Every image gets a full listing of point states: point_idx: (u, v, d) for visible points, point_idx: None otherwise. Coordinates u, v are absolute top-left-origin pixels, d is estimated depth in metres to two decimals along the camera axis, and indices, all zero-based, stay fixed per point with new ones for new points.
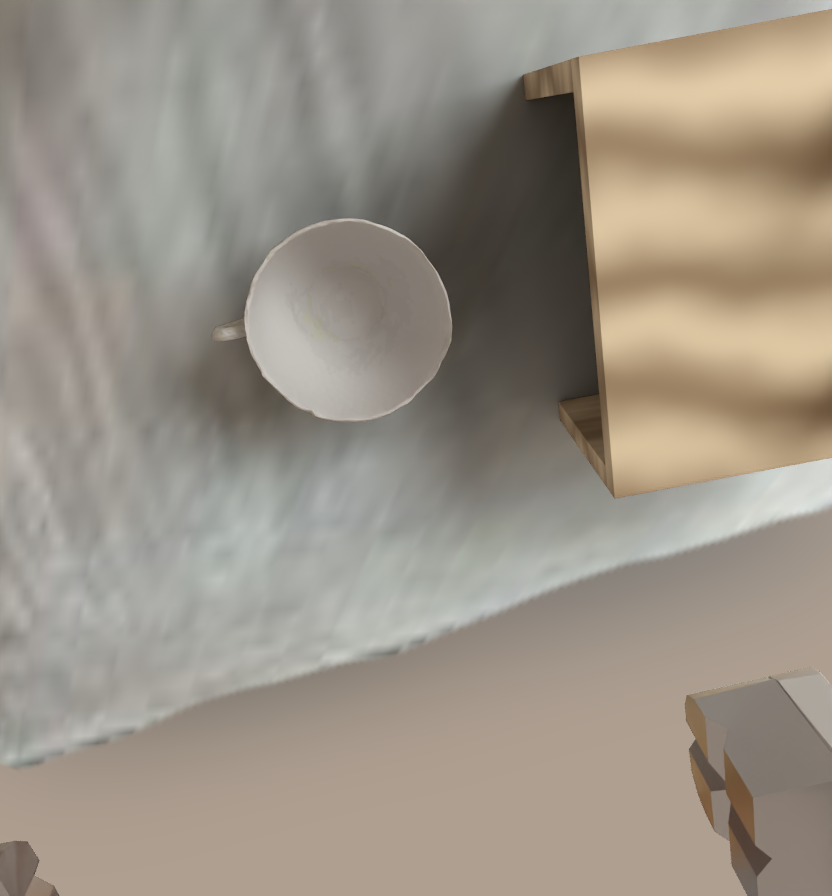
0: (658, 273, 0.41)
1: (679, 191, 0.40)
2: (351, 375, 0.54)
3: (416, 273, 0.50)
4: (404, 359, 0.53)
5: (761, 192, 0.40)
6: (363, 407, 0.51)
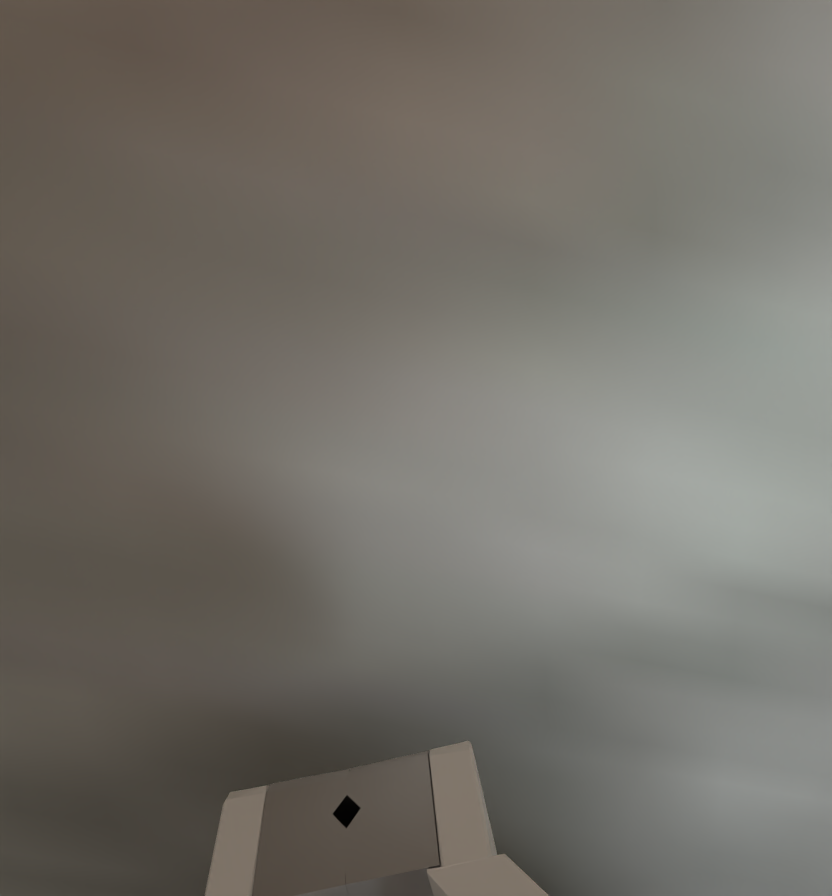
0: None
1: None
2: None
3: None
4: None
5: None
6: None
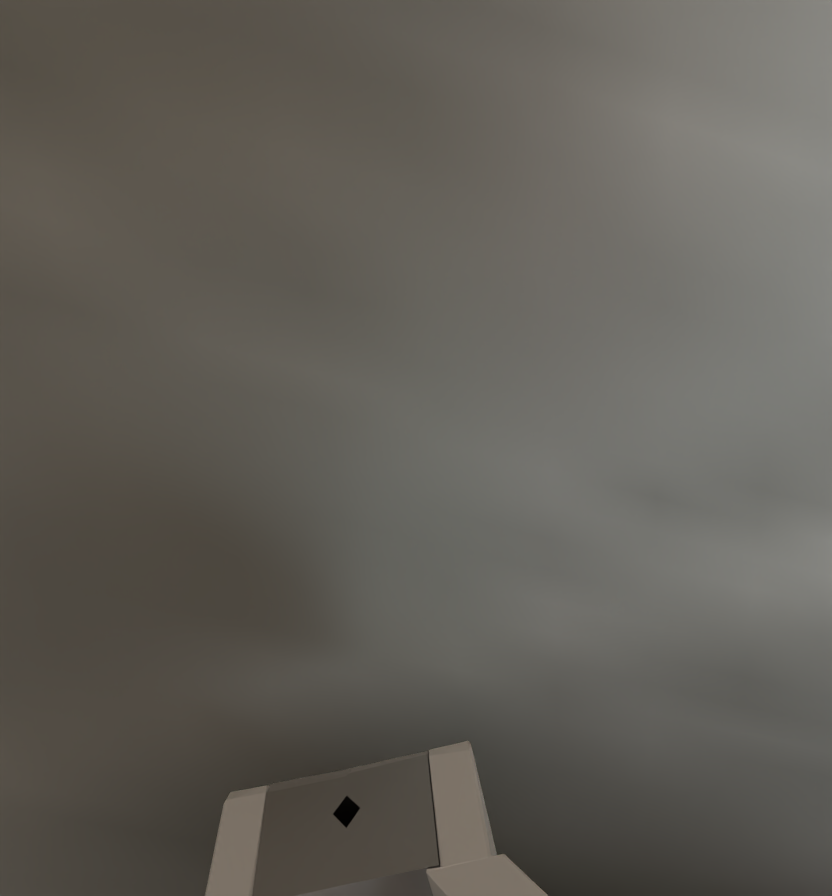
0: None
1: None
2: None
3: None
4: None
5: None
6: None
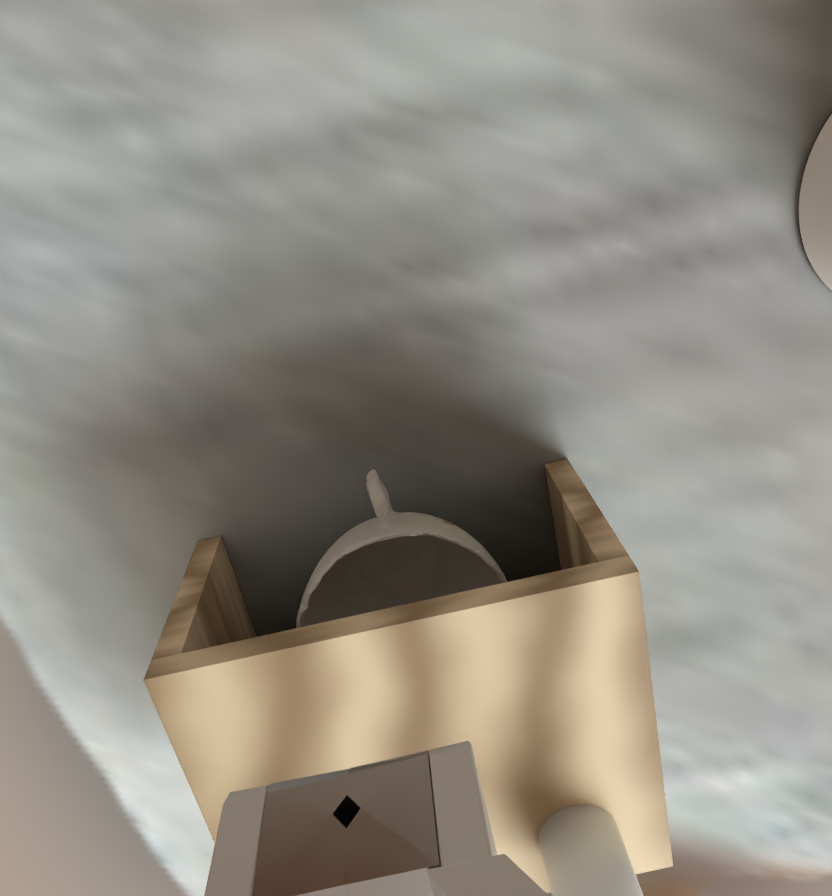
0: (423, 676, 0.38)
1: (507, 680, 0.38)
2: (329, 593, 0.48)
3: None
4: None
5: (506, 749, 0.40)
6: None
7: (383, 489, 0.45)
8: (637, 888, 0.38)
